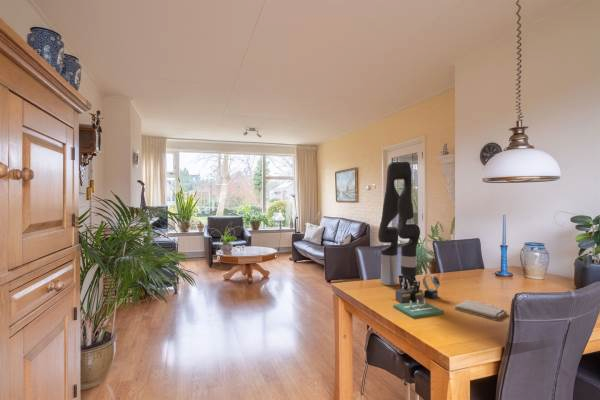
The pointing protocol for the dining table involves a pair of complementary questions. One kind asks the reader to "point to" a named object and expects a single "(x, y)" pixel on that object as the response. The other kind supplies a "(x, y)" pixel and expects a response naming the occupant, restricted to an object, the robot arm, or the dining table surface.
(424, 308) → the board
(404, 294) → the grey rectangular block
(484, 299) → the dining table surface
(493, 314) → the washcloth
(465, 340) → the dining table surface
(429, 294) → the watch
